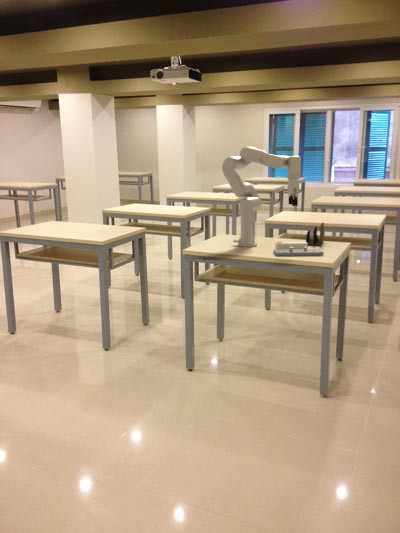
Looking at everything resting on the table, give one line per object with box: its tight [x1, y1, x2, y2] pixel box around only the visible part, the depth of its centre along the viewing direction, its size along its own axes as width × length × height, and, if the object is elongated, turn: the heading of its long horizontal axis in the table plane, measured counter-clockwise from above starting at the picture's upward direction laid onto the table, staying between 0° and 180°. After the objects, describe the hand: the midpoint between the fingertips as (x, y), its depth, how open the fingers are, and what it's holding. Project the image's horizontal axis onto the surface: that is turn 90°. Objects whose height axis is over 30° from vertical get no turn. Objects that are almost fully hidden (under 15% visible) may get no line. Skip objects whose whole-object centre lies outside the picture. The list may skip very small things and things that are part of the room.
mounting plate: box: [273, 246, 325, 257], centre depth 296 cm, size 28×10×4 cm, turn 92°
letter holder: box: [305, 222, 325, 247], centre depth 328 cm, size 10×20×14 cm, turn 162°
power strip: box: [274, 241, 308, 249], centre depth 306 cm, size 19×6×6 cm, turn 92°
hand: (292, 204), depth 301 cm, fingers open, 9 cm apart
